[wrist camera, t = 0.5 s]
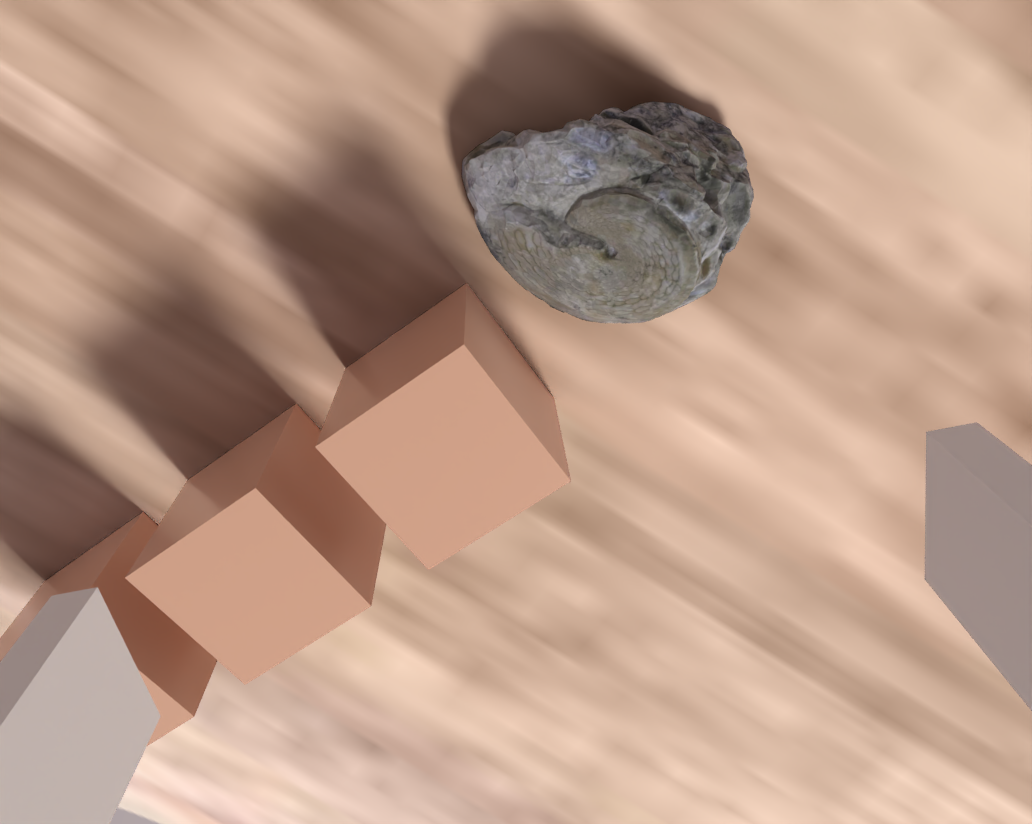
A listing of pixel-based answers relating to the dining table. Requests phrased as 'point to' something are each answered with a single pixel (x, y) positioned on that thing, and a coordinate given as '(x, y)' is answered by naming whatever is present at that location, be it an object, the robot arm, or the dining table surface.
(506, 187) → the fossilized seashell
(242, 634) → the cover mid
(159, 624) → the salmon pink box
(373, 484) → the peach colored cube
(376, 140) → the dining table surface
